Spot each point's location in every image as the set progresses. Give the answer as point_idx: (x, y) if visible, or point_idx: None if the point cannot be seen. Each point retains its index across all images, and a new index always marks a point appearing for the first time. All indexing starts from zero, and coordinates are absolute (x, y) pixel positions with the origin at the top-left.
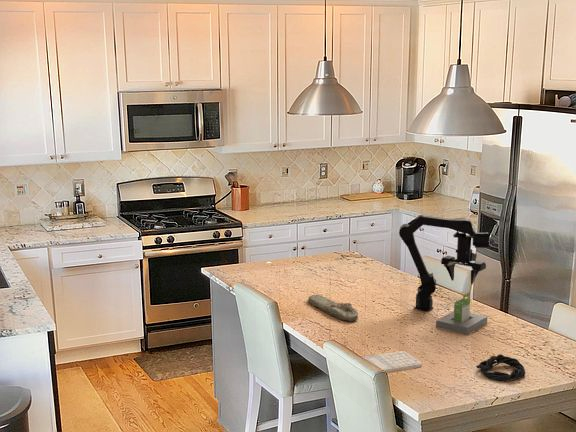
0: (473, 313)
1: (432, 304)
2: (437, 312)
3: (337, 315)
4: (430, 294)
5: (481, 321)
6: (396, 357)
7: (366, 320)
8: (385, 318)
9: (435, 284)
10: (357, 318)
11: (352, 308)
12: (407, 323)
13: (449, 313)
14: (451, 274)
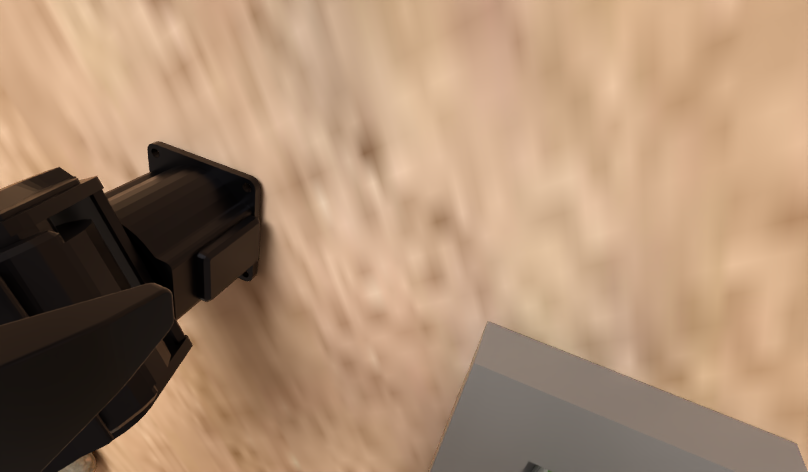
0: (655, 438)
1: (240, 238)
2: (325, 264)
3: None
4: (172, 369)
5: None
6: None
7: (119, 443)
8: (155, 414)
9: (103, 440)
10: (92, 461)
11: None
12: (267, 466)
13: (439, 451)
14: (42, 464)
